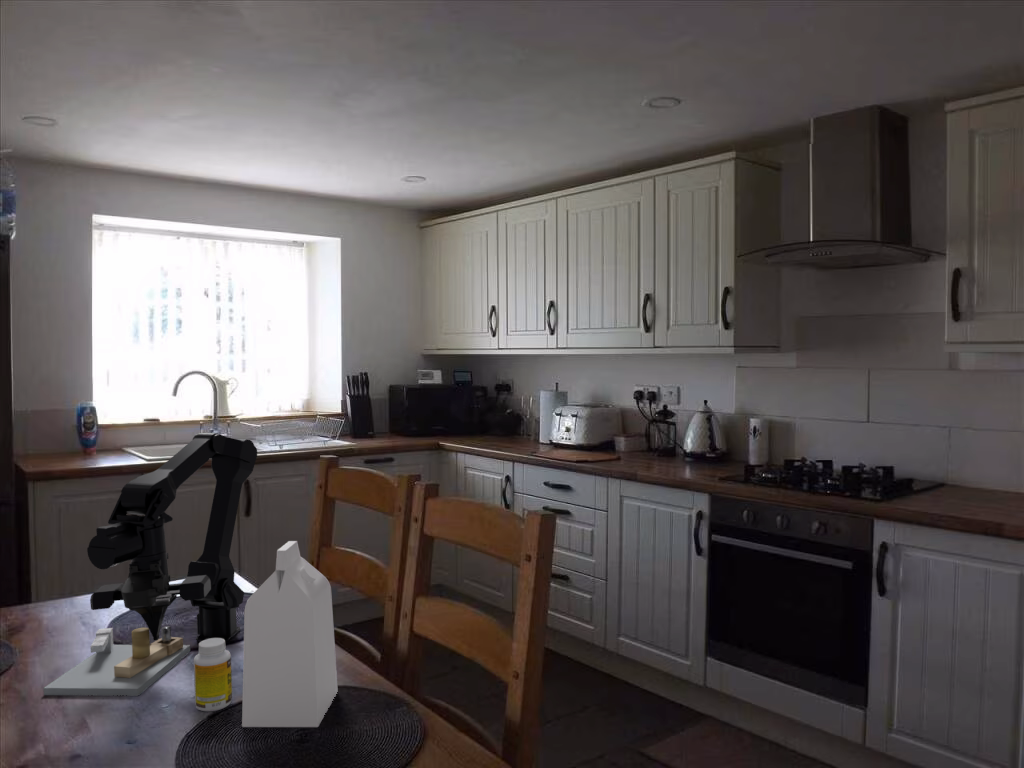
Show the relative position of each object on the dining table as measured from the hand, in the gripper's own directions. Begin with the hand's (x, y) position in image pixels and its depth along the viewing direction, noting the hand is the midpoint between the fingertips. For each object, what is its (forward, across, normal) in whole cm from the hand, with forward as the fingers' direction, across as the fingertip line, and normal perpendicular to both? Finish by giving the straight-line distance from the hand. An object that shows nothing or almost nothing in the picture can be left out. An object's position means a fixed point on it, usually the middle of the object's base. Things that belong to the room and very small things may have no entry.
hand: (156, 639), depth 141 cm
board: (+5, -6, +1) cm, 8 cm away
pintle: (+4, 0, +6) cm, 8 cm away
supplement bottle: (+6, +13, -16) cm, 21 cm away
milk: (+7, +25, -19) cm, 33 cm away
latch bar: (+4, -2, +2) cm, 5 cm away
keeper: (+4, -11, +6) cm, 13 cm away
